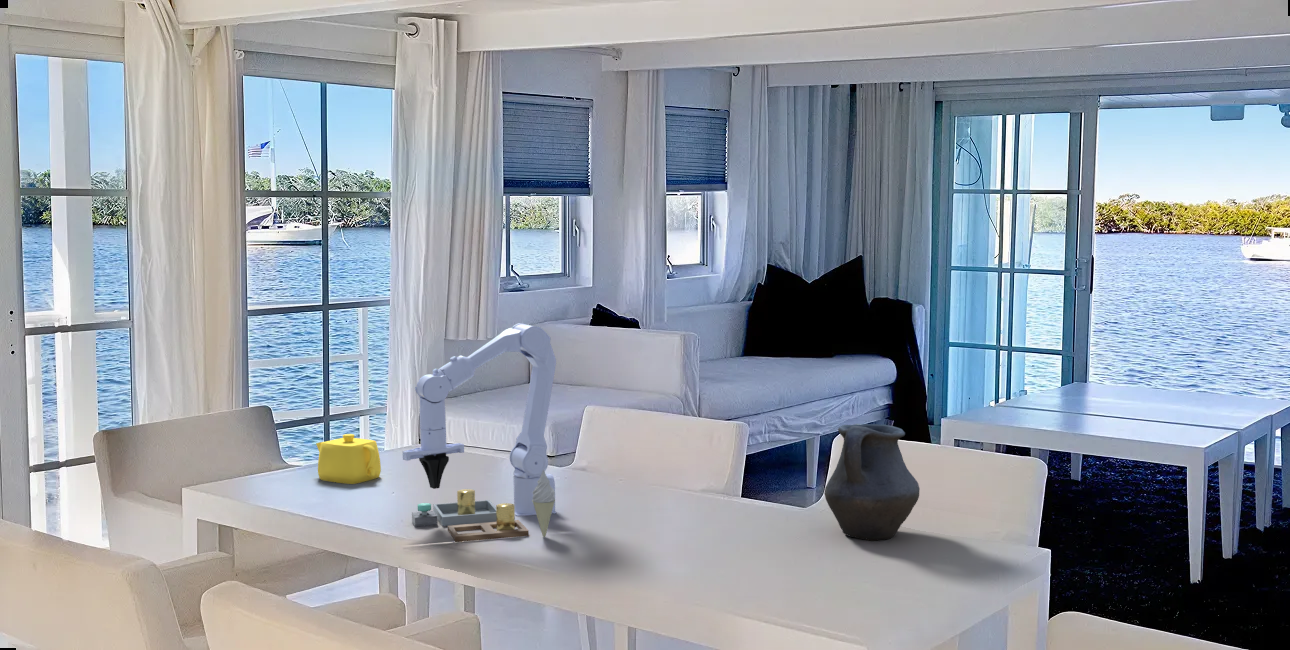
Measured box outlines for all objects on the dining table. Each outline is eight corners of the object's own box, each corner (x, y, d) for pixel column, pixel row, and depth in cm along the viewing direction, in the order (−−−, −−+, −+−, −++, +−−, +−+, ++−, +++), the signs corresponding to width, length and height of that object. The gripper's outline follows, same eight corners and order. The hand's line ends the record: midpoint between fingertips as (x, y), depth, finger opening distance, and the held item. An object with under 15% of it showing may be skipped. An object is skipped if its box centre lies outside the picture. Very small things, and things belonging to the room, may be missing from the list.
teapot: (302, 478, 343) (301, 434, 342) (335, 470, 353) (334, 427, 352) (358, 486, 332) (357, 441, 331) (391, 477, 343) (390, 433, 342)
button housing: (434, 521, 295) (434, 510, 294) (437, 526, 290) (437, 515, 290) (412, 523, 293) (411, 512, 293) (415, 528, 288) (414, 517, 288)
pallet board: (518, 525, 291) (518, 519, 291) (528, 535, 282) (528, 530, 281) (447, 531, 286) (447, 525, 286) (455, 542, 277) (455, 536, 276)
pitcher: (932, 530, 284) (933, 418, 282) (898, 553, 266) (900, 433, 263) (844, 519, 295) (845, 410, 292) (805, 541, 276) (806, 425, 274)
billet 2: (512, 529, 288) (512, 502, 287) (516, 533, 284) (516, 506, 283) (494, 530, 286) (494, 504, 286) (498, 535, 283) (498, 508, 282)
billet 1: (473, 514, 300) (473, 488, 299) (476, 518, 296) (476, 492, 296) (456, 515, 299) (455, 490, 298) (459, 519, 295) (458, 493, 294)
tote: (489, 509, 306) (489, 500, 305) (500, 522, 293) (500, 512, 293) (433, 514, 302) (433, 504, 301) (442, 527, 289) (442, 517, 289)
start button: (430, 518, 293) (430, 502, 293) (432, 521, 290) (432, 505, 290) (417, 519, 292) (416, 503, 292) (418, 522, 290) (418, 506, 289)
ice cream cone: (534, 540, 277) (533, 471, 276) (530, 535, 282) (529, 467, 281) (557, 539, 279) (557, 470, 277) (553, 533, 284) (552, 465, 282)
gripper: (452, 422, 298) (454, 480, 300) (395, 429, 290) (397, 489, 291) (468, 426, 293) (469, 485, 294) (410, 433, 284) (411, 494, 285)
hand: (434, 487), depth 292 cm, fingers closed
